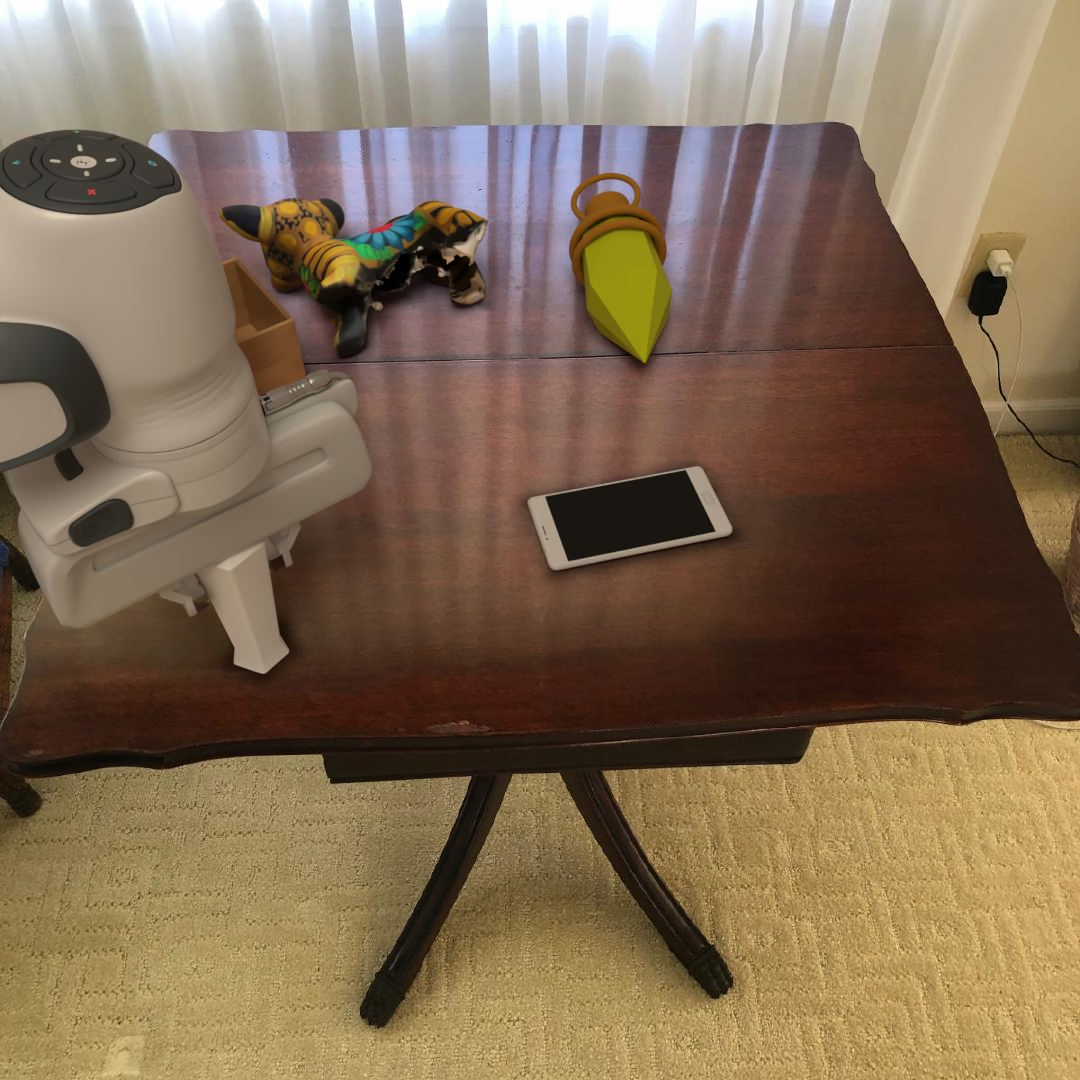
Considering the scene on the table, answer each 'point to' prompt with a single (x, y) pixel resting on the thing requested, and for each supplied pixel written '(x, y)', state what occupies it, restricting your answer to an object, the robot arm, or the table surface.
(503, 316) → the table surface
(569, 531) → the smartphone
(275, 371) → the carton
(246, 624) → the perfume bottle
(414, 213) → the multicolored animal figure
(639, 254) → the plumb bob
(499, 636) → the table surface
